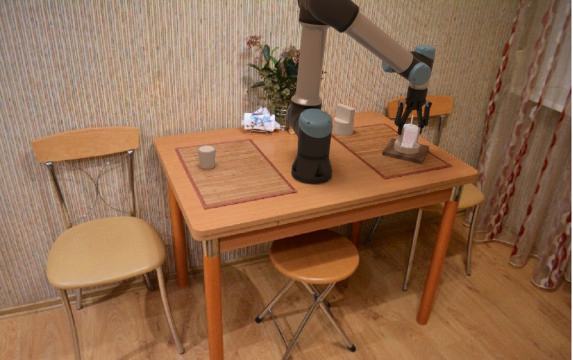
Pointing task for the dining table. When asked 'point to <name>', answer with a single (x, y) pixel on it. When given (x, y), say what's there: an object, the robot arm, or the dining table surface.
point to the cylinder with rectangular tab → (344, 120)
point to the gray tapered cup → (206, 156)
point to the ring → (407, 148)
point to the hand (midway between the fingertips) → (407, 141)
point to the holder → (415, 157)
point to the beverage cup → (409, 134)
